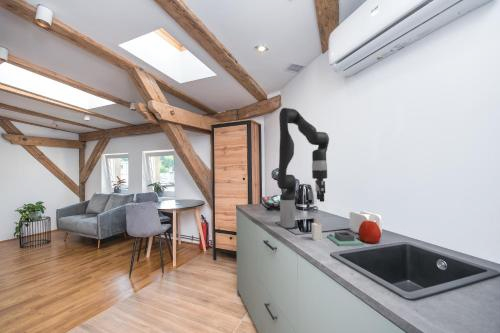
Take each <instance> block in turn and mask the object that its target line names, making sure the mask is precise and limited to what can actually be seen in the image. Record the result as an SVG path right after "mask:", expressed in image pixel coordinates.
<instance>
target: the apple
mask: <svg viewBox="0 0 500 333" xmlns="http://www.w3.org/2000/svg"><path fill="white" fill-rule="evenodd" d="M357 234H358V237H359V239H360V241H361V242H362V241H363V243H364V242H365V243H369V244H377V243H379V242H380V240H381V237H382V234H381V230H380V228H379V226H378V225H377V224H376V223H375V222H374V221H363V222H362V224H361V225H360V227H359V232H358V233H357Z"/></svg>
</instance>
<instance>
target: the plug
mask: <svg viewBox="0 0 500 333" xmlns="http://www.w3.org/2000/svg"><path fill="white" fill-rule="evenodd" d="M322 228H323V225H322V223H320V222H311V239H312V240H313V241H322V240H323V235H322V234H323V229H322Z"/></svg>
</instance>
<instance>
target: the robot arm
mask: <svg viewBox="0 0 500 333" xmlns="http://www.w3.org/2000/svg"><path fill="white" fill-rule="evenodd" d="M278 116H279V118H278V119H279V121H278V122H279V151H278V152H279V158H278V159H279V160H278V163H279V164H278V172H277V178H276V179H277V184H276V185H277V187H278V188H279V189H280V190H285V192H283V193H281V194H280V195H279V209H280V210H279V212H280V213H279V214H280V215H279V218H280V223H279V226H280V228H288V229H291V228H294V227H295V226H296V224H295V223H296V222H295V220H296V217H295V216H296V213H295V212H296V211H295V210H296V208H295V204H296V203H295V201H296V200H295V199H296V198H295V197H296V189H297V179H296V177H295V175H293V174H287V169H288V166H289V164H290V163H291V161H292V160H293V158H294V154H295V142H294V140H293V138H292V136H291V133H290V131H289V124H293V125H296V126H297V129H298V131H299V133H301V134H302V136H304V137H305V138H306V140H307V142H308V143H309V144H310V145H312V146H318V147H317V149H315V150H314V149H313V151H312V153H311V158H312V163H311V173H312V174H311V175H312V176H311V178H312V179H313V180H315V192H316V199H317V200H319V202H321V203H323V202H325V194H326V181H325V179H327V178H328V163H327V162H328V161H327V151H328V147H329V142H330V136H329V135H328V133H326V132H325V131H317V128H316V127H315V126H314V125H312V124H311V123H309V122H308V121H307V120H306V119H305V118H304V117H303V116H302V114H300V112H299V111H298V110H297V109H295V108H291V107H290V108H289V107H283V108H281V109H280V111H279V115H278Z"/></svg>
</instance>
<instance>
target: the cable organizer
mask: <svg viewBox="0 0 500 333" xmlns="http://www.w3.org/2000/svg"><path fill="white" fill-rule="evenodd" d="M363 221H374V222H375V223H376V224H377V225H378V226H379V228H380V230H381V235H382V233H383V218H382V216H381V215H380V214H379V213H378V214H377V213H374V212H370V211H367V210H362V211H360V213H359V212H357V211H350V212H349V230H351V231H352V232H353V233H355V234H358V232H359V227H360V225H361V224H362V222H363Z"/></svg>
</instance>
